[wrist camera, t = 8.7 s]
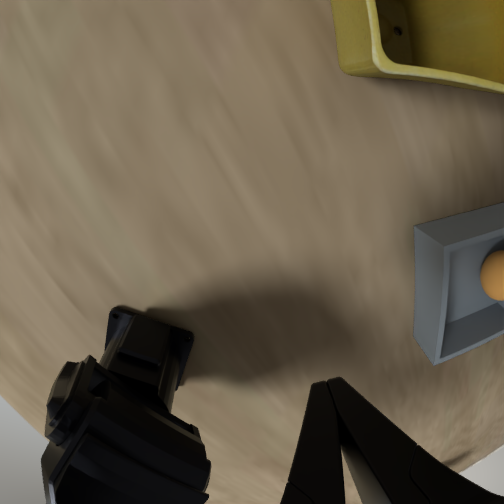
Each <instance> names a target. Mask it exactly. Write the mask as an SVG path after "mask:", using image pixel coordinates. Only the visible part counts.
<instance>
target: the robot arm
mask: <svg viewBox="0 0 504 504" xmlns="http://www.w3.org/2000/svg"><path fill="white" fill-rule="evenodd" d="M114 313H117V314H118V315H119V316H116V315H115V314H114ZM185 337H189V338H190V339H186V338H185ZM193 342H194V334H193V333H192V332H190V331H187V330H184V329H181V328H177V327H174V326H171V325H168V324H166V323H162V322H159V321H156V320H153V319H150V318H147V317H144V316H141V315H138V314H135V313H132V312H129V311H126V310H123V309H120V308H117V307H114V308H112V309H111V311H110V313H109V319H108V327H107V335H106V343H105V352H104V354H103V356H102V358H101V360H100V362H99V363H97V362H96V361H97V360H96V359H95V358H93V357H92V356H91V355H88V357H87V358H86V359H85V360H84V361H81V362H80V363H79V362H77V363H75V362H69V361H67V362H66V363H65V365H64V366H63V368H62V369H61V371H60V373H59V375H58V376H57V378H56V380H55V382H54V384H53V386H52V389H51V392H50V395H49V398H48V401H47V405H46V406H47V416H46V425H45V437H46V438H48V439H49V440H50V442H49V444H48V446H47V447H46V450H45V451H44V453H43V455H42V458H41V467H42V476H43V484H44V491H45V497H46V504H204V503H205V502H206V501H207V500H208V498H209V494H207V493H205V491H206V488H207V486H208V483H209V479H210V472H211V461H210V460H208V459H207V457H206V451H205V445H204V444H203V442H202V441H201V437H200V434H199V430H198V428H197V427H195V426H194V425H192V424H190V425H189V424H188V423H186V422H184V421H182V420H181V419H179V418H177V417H176V416H174V415H173V414H171V409H172V403H173V398H174V393H175V391H176V390H177V389H178V386H179V383H180V380H181V377H182V374H183V371H184V368H185V365H186V362H187V359H188V357H189V354H190V351H191V348H192V345H193ZM416 446H417V447H416ZM341 450H342V453H343V455H344V458H345V460H346V463H347V465H348V468H349V470H350V473H351V476H352V478H353V481H354V483H355V486H356V488H357V491H358V493H359V496H360V498H361V501H362V503H363V504H504V496H500V495H496V494H494V493H491V492H489V491H487V490H485V489H484V488H482V487H480V486H478V485H477V484H475V483H473V482H471V481H470V480H468V479H466V478H465V477H463V476H461V475H459V474H458V473H456V472H455V471H453V470H451V469H450V468H448V467H447V466H445V465H444V464H442V463H441V462H439V461H438V460H437V459H436V458H434V457H433V456H432V455H430V454H429V453H428V452H427V451H425V450H424V449H423V448H422V447H421V446H420V445H417V443H416V442H415V441H413V440H412V439H411V438H410V437H409V436H408V435H406V434H405V433H404V432H403V431H402V430H401V429H399V428H398V427H397V426H396V425H395V424H394V423H393V422H391V421H390V420H389V419H388V418H387V417H386V416H385V415H383V414H382V413H381V412H380V411H379V410H378V409H377V408H375V407H374V406H373V405H372V404H371V403H370V402H369V401H367V400H366V399H365V398H364V397H363V396H362V395H361V394H360V393H358V392H357V391H356V390H355V389H354V388H353V387H352V386H351V385H350V384H348V383H347V382H346V381H345V380H344V379H343V378H342V377H335V378H332V379H328V380H327V382H326V381H320V382H316V383H313V384H312V385H311V389H310V393H309V398H308V402H307V407H306V411H305V415H304V420H303V424H302V428H301V432H300V436H299V440H298V444H297V448H296V452H295V455H294V459H293V463H292V467H291V470H290V474H289V477H288V482H287V484H286V487H285V491H284V494H283V497H282V500H281V503H280V504H345V490H344V477H343V465H342V454H341Z"/></svg>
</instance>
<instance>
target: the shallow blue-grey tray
mask: <svg viewBox="0 0 504 504" xmlns="http://www.w3.org/2000/svg"><path fill="white" fill-rule="evenodd" d="M414 242H415V310H414V331H413V337H414V338H415V340H416V341H417V343H418V344H419V345H420V347H421V348H422V350H423V351H424V353H425V354H426V356H427V357H428V358H429V360H430V361H431V363H432V364H433V366H435V365H437V364H440V363H442V362H444V361H447V360H449V359H451V358H454V357H456V356H458V355H461V354H463V353H465V352H467V351H469V350H471V349H474V348H476V347H478V346H480V345H482V344H484V343H486V342H488V341H490V340H492V339H494V338H496V337H498V336H500V335H502V334H504V301H498V300H494V299H492V298H491V297H489V296H488V295H487V294H486V293H485V291H484V290H483V288H482V285H481V281H480V272H481V267H482V265H483V263H484V261H485V259H486V258H487V257H488V256H489V255H490V254H492V253H493V252H496V251H499V250H504V202H503V203H499V204H495V205H492V206H488V207H484V208H480V209H477V210H473V211H469V212H465V213H461V214H457V215H454V216H450V217H446V218H442V219H438V220H434V221H430V222H427V223H423V224H419V225H415V226H414Z"/></svg>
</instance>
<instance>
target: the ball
mask: <svg viewBox="0 0 504 504" xmlns="http://www.w3.org/2000/svg"><path fill="white" fill-rule="evenodd" d="M480 281H481V285H482V288H483V290H484V291H485V293H486V294H487V295H488V296H489V297H491V298H492V299H494V300H498V301H504V250H499V251H496V252H493V253H492V254H490V255H489V256H488V257H487V258H486V259H485V261H484V263H483V265H482V267H481V272H480Z"/></svg>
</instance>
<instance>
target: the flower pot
mask: <svg viewBox="0 0 504 504" xmlns="http://www.w3.org/2000/svg"><path fill="white" fill-rule="evenodd" d="M330 1H331V7H332V13H333V20H334V26H335V34H336V42H337V51H338V60H339V66H340V68H341V70H342V71H343V72H344V73H346V74H348V75H351V76H357V77H380V78H396V79H408V80H416V81H424V82H431V83H438V84H444V85H449V86H454V87H459V88H465V89H472V90H479V91H486V92H492V93H498V94H503V95H504V0H330ZM394 28H398V29H399V30H400V31H401V34H400V35H396V34H395V32H394Z"/></svg>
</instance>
